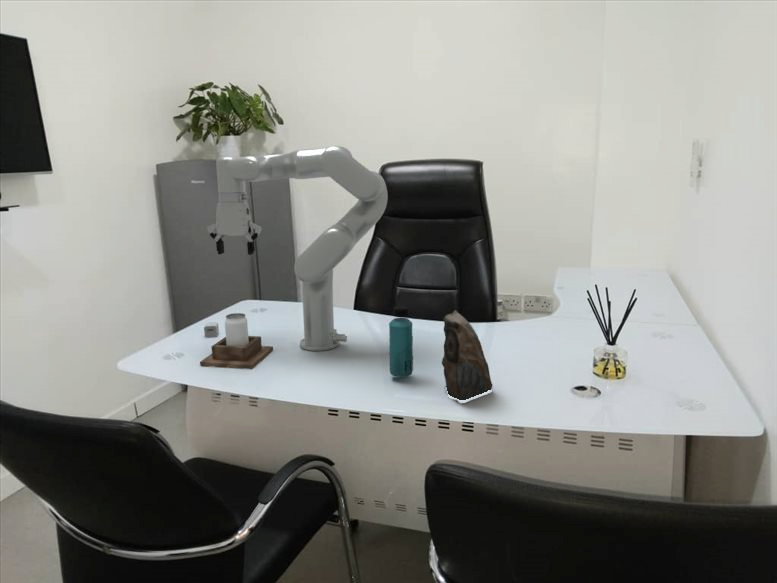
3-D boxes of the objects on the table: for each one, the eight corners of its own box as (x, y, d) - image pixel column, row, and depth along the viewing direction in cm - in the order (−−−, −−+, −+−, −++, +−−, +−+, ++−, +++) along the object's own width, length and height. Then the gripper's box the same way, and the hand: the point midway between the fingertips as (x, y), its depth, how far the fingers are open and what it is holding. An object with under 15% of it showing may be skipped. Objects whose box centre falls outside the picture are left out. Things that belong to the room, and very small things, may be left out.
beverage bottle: (405, 384, 143) (405, 311, 139) (384, 379, 147) (383, 308, 142) (417, 376, 149) (417, 305, 144) (396, 371, 152) (396, 302, 147)
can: (246, 357, 160) (243, 318, 158) (224, 357, 160) (221, 318, 158) (251, 350, 167) (249, 312, 164) (230, 350, 167) (227, 312, 164)
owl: (460, 406, 130) (462, 327, 125) (424, 390, 140) (425, 315, 135) (495, 392, 138) (498, 317, 133) (458, 377, 147) (460, 306, 143)
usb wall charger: (204, 337, 183) (203, 326, 182) (208, 331, 190) (207, 320, 189) (217, 337, 184) (216, 325, 183) (219, 331, 190) (219, 320, 189)
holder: (273, 350, 170) (272, 334, 169) (252, 369, 155) (250, 351, 154) (225, 347, 173) (224, 332, 172) (200, 365, 158) (198, 348, 156)
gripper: (263, 197, 168) (266, 252, 172) (210, 197, 170) (214, 251, 174) (254, 199, 161) (258, 256, 165) (199, 199, 163) (204, 255, 167)
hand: (236, 253), depth 170 cm, fingers open, 9 cm apart
